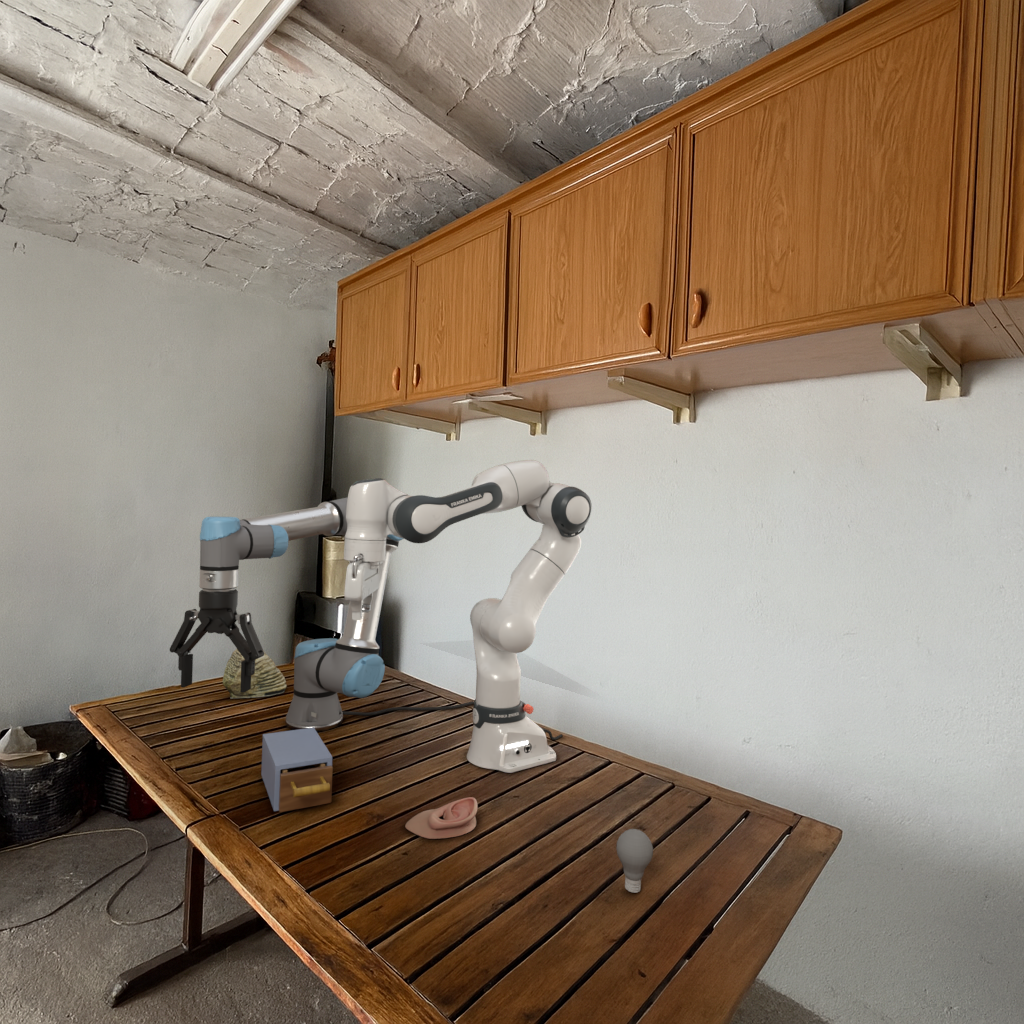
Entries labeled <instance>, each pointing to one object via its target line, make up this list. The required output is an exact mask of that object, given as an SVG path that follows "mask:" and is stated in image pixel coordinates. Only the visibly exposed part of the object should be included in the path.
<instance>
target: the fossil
mask: <svg viewBox="0 0 1024 1024" xmlns="http://www.w3.org/2000/svg"><path fill="white" fill-rule="evenodd" d="M263 651H264V656H262V657H260V658H258V659H256V660H255V673H254V675H252V676H251V689H250V690H248V691H246V692H244V693H242V692H240V689H241V662H242V661H244V660H245V659H244V658H243V656H242V655H241V653H240V652H239V651H238V649H237V648H236V649H235V650H233V651H232V653H231V656H230V657H229V659H228V660H227V663H226V666H225V668H224V671H223V675H222V676H223V677H222V685H223V687H224V688H225V690H226V691H228V693H229V698H230V699H250V698H264V697H271V696H275V695H281V694H284V693H285V691H286V689H287V687H288V686H287V680H286V678H285V676H284V674H283V673H282V672H281V669H279V668H278V667H277V665H276V663H275V662H274V660H273V659H272V658H271V657H270V656H269V655H268V654H267V653H266V652H265V650H264V649H263Z"/></svg>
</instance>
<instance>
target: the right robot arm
mask: <svg viewBox="0 0 1024 1024" xmlns="http://www.w3.org/2000/svg"><path fill="white" fill-rule="evenodd" d="M347 497H348V499H347V508H346V521H347V532H346V534H345V535H344V544H343V546H344V547H343V560H344V561H346V562H347V561H348V562H349V563H348V564H347V567H346V572H345V580H344V591H343V595H344V600H345V601H347V602H350V601H351V608H352V619H353V620H360V619H361V618H362V612H366V613H368V612H369V611H370V610H371V602H372V598H373V592H374V591H375V590H377V589H378V588H379V585H380V580H381V573H382V565H383V561H385V557H386V537H387V535H389V534H392V535H394V536H397V537H400V538H403V539H402V540H406V541H408V542H410V543H413V544H425V543H428V542H430V541H432V540H434V539H435V538H436V537H437V536H439V535H440V534H441V533H442V532H443V531H445V530H446V529H447V528H448V527H450V526H452V525H454V524H456V523H459V522H463V521H465V520H468V519H471V518H473V517H476V516H479V515H482V514H483V515H484V514H486V515H487V514H496V513H502V512H506V511H507V512H508V511H510V510H514V509H515V508H519V507H521V510H522V512H523V514H525V516H527V517H528V518H529V519H530V520H531V521H533V522H534V523H535V522H536V523H539V524H541V525H542V527H541V531H540V534H539V537H538V538H537V540H536V541H535V542H534V543H533V544H532V546H531V547H530V548H529V550H528V551H527V553H525V555H524V556H523V558H522V559H521V560H520V562H519V563H518V564H517V565H516V566H515V568H514V570H513V571H512V573H511V574H510V581H509V583H508V586H507V588H506V591H505V593H504V594H503V597H502V598H497V597H489V598H484V599H480V600H479V601H478V602H476V603H475V604H474V605H473V607H472V608H471V611H470V614H469V621H470V624H471V628H472V629H471V630H472V638H473V649H474V656H475V664H476V665H475V666H476V667H475V668H476V677H475V681H476V682H475V699H474V700H473V701H474V704H473V706H472V707H473V708H472V724H473V727H472V733H471V739H470V743H469V746H468V750H467V753H466V759H467V761H468V762H469V763H471V764H472V765H474V766H476V767H479V768H483V769H488V770H496V771H500V772H503V773H508V774H512V773H517V772H519V771H524V770H527V769H530V768H535V767H537V766H538V767H539V766H541V765H547V764H550V763H553V762H556V761H557V754H556V753H557V752H556V751H555V750H554V749H553V748H552V746H550V745H549V744H548V738H547V735H546V734H548V737H549V739H550V740H551V741H558V740H559V739H561V738H563V734H562V733H561V734H559V735H557V736H555V737H554V736H553V734H552V731H550V730H549V729H546V728H544V727H542V726H540V725H538V723H536V722H534V721H533V720H532V719H531V718H529V717H528V716H527V714H528V715H531V714H533V713H534V710H535V709H534V706H532V705H531V704H529V703H526V702H524V701H523V700H521V683H522V682H521V681H522V670H521V666H520V663H519V660H518V654H520V653H522V652H525V651H526V650H528V649H529V648H530V647H531V645H532V644H533V643H534V641H535V637H536V635H537V634H536V632H537V631H536V627H537V623H538V621H539V618H540V616H541V614H542V611H543V609H544V607H545V605H546V603H547V601H548V599H549V598H550V597H551V595H552V594H553V592H554V591H555V589H556V588H557V587H558V586H559V584H560V582H561V581H562V580H563V578H564V577H565V576H566V574H567V573H568V571H569V569H570V568H571V566H572V565H573V563H574V561H575V560H576V558H577V556H578V554H579V552H580V551H581V547H582V539H581V536H580V534H581V533H582V532H583V531H584V530H585V526H586V525H587V524H588V523H589V520H590V517H591V514H592V507H593V506H592V500H591V498H590V496H589V495H588V494H587V493H586V492H585V491H584V490H582V489H581V488H579V487H577V486H570V485H569V484H568V485H567V484H564V483H560V482H555V483H554V482H551V481H550V476H549V472H548V470H547V467H545V465H544V464H543V463H541V462H540V461H538V460H534V459H525V460H515V461H511V462H506V463H503V464H497V465H495V466H491V467H489V468H487V469H485V470H482V471H481V472H479V473H476V475H475V476H474V477H473V479H472V482H471V485H470V487H468V488H465V489H462V490H458V491H455V492H452V493H449V494H446V495H442V496H437V497H435V496H430V495H425V494H424V495H423V494H420V495H419V494H418V495H409V494H407V493H405V492H403V491H401V490H400V489H397V488H396V487H394V486H393V485H392V484H390V483H389V482H388V481H387V479H385V478H381V477H375V478H365V479H360V480H356V481H355V482H353V483H352V484H351V486H350V487H349V490H348V494H347ZM362 600H363V604H362Z"/></svg>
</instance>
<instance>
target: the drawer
mask: <svg viewBox="0 0 1024 1024" xmlns="http://www.w3.org/2000/svg"><path fill="white" fill-rule="evenodd" d="M333 769H334V767H333V765H332V766H325V764H324V763H319V764H313V765H307V766H300V767H294V768H288V769H282V770H280V788H279V811H278V812H279V813H285V812H290V811H295V810H299V809H305V808H311V807H316V806H320V805H326V804H331V803H332V796H333V795H332V794H333V793H332V792H333V772H334V771H333Z"/></svg>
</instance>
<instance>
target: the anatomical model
mask: <svg viewBox="0 0 1024 1024" xmlns="http://www.w3.org/2000/svg"><path fill="white" fill-rule="evenodd" d="M478 805H479V804H478V801H477V799H476V798H475V797H471V796H469V797H464V798H460V799H457V800H454V801H452V802H449V803H446V804H444V805H442V806H440V807H437V808H435V809H427V810H424V811H421V812H419V813H417V814H416V815H413V816H412V817H411V818H410V819H409V820H408V821H407V822H406V823H405V825H404V827H405V829H406V830H408V831H409V832H411V833H413V834H415V835H416V836H418V837H422V838H424V839H427V840H428V839H430V840H437V839H438V840H439V839H449V838H455V837H459V836H463V835H466V834H468V833H470V832H472V831H473V830H474V829H475V828H476V826H477V818H476V815H477V813H478V807H479V806H478Z"/></svg>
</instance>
